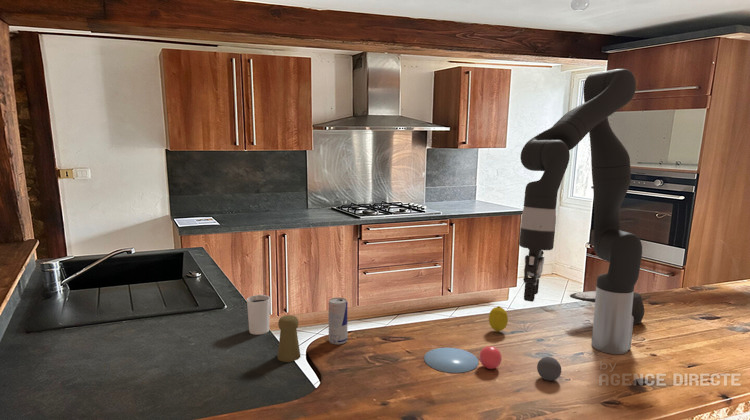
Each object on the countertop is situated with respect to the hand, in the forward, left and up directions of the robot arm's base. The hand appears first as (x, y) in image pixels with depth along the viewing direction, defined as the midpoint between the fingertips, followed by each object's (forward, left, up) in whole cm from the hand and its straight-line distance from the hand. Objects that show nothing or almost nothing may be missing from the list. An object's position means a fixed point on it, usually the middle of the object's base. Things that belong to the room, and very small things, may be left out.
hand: (530, 297), depth 110 cm
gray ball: (-6, 0, -19) cm, 20 cm away
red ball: (+4, -9, -19) cm, 21 cm away
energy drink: (+35, -38, -21) cm, 56 cm away
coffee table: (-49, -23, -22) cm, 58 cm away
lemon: (-12, -28, -21) cm, 37 cm away
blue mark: (+11, -16, -21) cm, 29 cm away
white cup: (+55, -53, -22) cm, 79 cm away
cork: (+50, -33, -22) cm, 64 cm away
